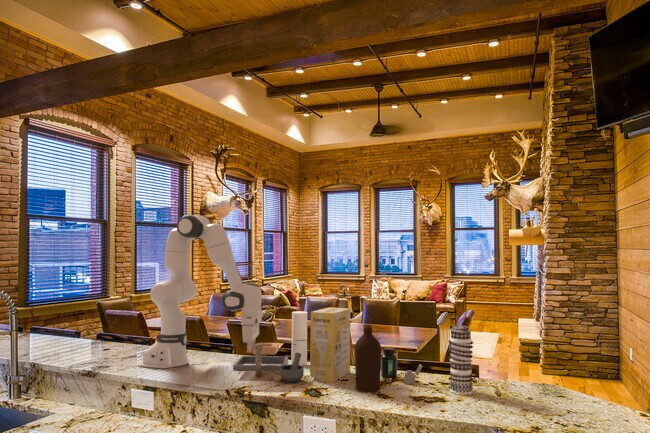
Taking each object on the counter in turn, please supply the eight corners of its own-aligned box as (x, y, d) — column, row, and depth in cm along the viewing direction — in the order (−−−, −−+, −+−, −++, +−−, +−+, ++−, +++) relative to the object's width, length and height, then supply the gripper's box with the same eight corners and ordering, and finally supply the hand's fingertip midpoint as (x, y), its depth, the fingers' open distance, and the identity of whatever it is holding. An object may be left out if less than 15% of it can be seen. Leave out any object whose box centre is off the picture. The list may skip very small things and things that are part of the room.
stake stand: (237, 384, 190) (238, 348, 191) (244, 374, 204) (245, 341, 205) (272, 384, 189) (272, 349, 190) (277, 375, 203) (277, 342, 204)
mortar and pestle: (295, 390, 183) (295, 358, 184) (274, 386, 187) (275, 355, 188) (309, 382, 193) (309, 352, 194) (290, 379, 197) (290, 350, 198)
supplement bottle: (393, 380, 198) (393, 350, 199) (378, 377, 201) (378, 349, 202) (399, 376, 204) (399, 348, 204) (384, 374, 207) (384, 346, 208)
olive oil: (384, 387, 188) (384, 323, 189) (376, 394, 178) (376, 327, 179) (359, 383, 192) (359, 321, 193) (350, 391, 182) (350, 325, 184)
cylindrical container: (304, 369, 214) (305, 313, 215) (289, 368, 215) (290, 313, 217) (308, 365, 221) (308, 311, 222) (293, 364, 222) (294, 311, 224)
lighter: (404, 384, 192) (404, 364, 193) (404, 382, 194) (404, 363, 194) (422, 385, 190) (422, 365, 191) (422, 384, 192) (422, 364, 193)
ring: (245, 354, 210) (245, 347, 211) (249, 349, 220) (250, 342, 221) (275, 354, 210) (275, 347, 210) (278, 349, 220) (278, 343, 220)
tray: (232, 373, 206) (233, 365, 206) (241, 363, 224) (241, 355, 224) (283, 374, 205) (283, 366, 206) (287, 364, 223) (288, 356, 223)
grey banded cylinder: (471, 396, 176) (470, 328, 178) (446, 392, 181) (445, 326, 182) (476, 390, 184) (475, 325, 186) (452, 386, 189) (451, 323, 190)
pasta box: (328, 369, 214) (329, 307, 216) (350, 372, 209) (350, 308, 211) (310, 379, 198) (310, 311, 199) (332, 382, 193) (333, 313, 195)
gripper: (249, 315, 227) (249, 344, 226) (239, 321, 206) (239, 353, 205) (262, 315, 227) (262, 344, 226) (254, 321, 206) (254, 353, 205)
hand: (251, 349), depth 215 cm, fingers closed on ring, 4 cm apart
